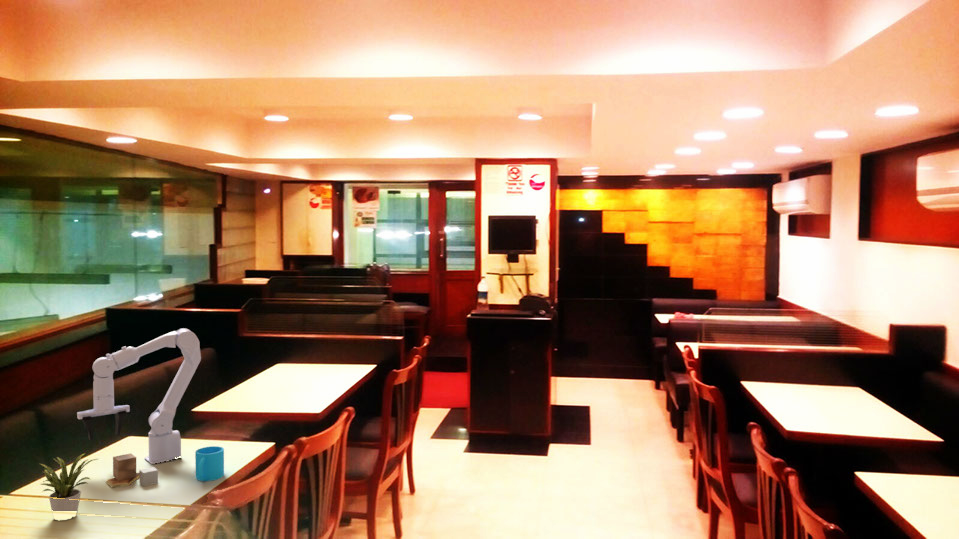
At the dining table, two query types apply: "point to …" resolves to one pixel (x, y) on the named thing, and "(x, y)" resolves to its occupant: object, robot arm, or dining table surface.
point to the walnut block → (124, 466)
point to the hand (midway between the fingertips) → (104, 437)
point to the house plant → (65, 486)
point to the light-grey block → (148, 476)
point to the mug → (209, 463)
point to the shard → (121, 481)
